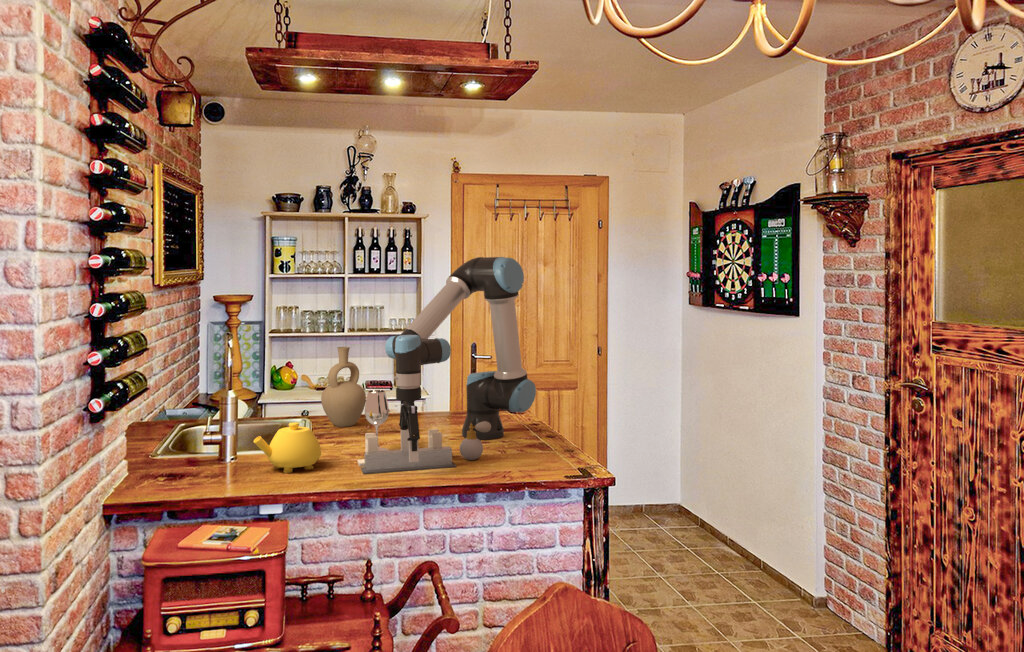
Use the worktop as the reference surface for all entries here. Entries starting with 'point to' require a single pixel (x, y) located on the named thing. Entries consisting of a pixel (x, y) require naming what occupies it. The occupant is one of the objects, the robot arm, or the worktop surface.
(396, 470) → the mat
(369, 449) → the rack
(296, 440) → the teapot
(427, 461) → the rail
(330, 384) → the vase
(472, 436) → the perfume bottle
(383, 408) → the wineglass
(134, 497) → the worktop surface
